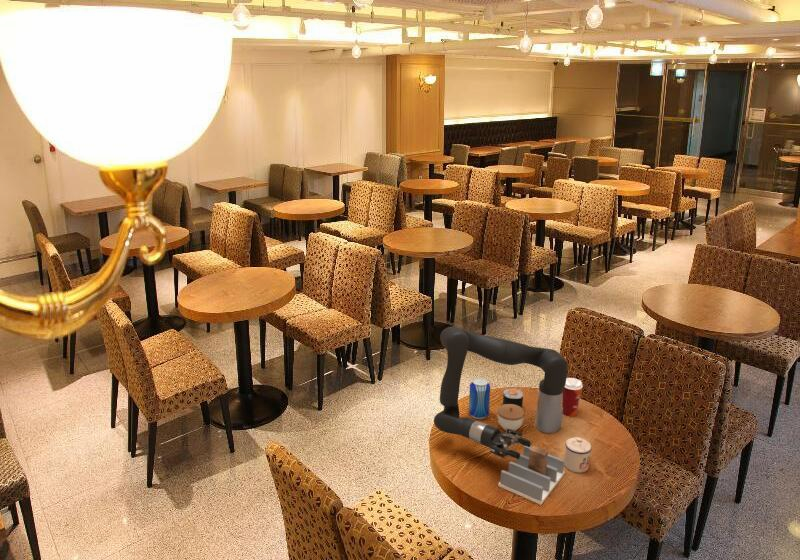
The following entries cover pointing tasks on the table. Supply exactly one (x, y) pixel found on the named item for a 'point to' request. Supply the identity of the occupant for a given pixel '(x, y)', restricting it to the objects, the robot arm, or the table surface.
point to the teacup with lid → (577, 454)
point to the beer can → (479, 398)
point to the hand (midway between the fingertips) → (525, 450)
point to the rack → (532, 477)
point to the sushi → (513, 397)
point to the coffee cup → (571, 396)
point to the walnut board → (538, 460)
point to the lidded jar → (510, 416)
